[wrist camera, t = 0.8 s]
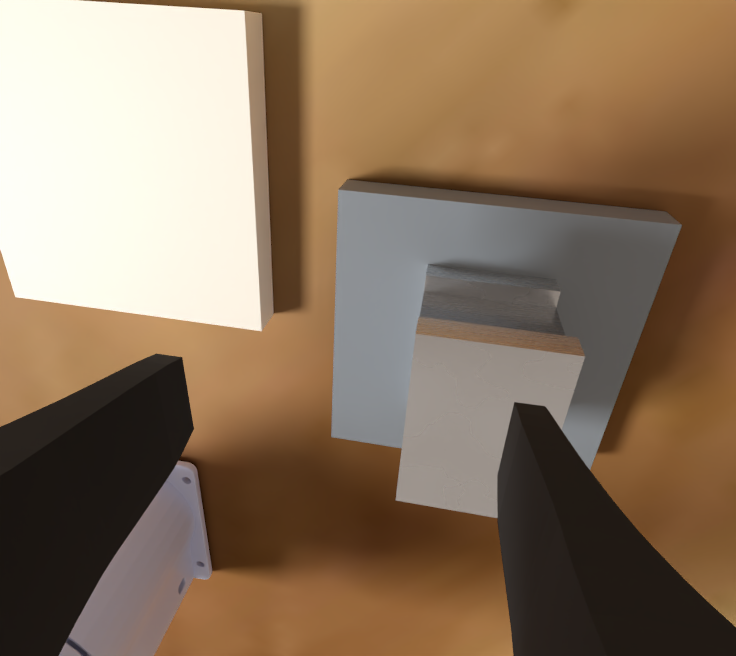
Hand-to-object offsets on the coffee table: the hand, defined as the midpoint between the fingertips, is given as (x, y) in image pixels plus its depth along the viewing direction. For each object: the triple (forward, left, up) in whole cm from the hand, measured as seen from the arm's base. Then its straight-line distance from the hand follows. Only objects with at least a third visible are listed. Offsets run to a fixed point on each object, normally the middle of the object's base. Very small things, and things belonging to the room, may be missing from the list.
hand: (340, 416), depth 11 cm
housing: (-3, -4, -8) cm, 10 cm away
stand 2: (-3, -4, -10) cm, 11 cm away
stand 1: (+2, +10, -10) cm, 15 cm away
